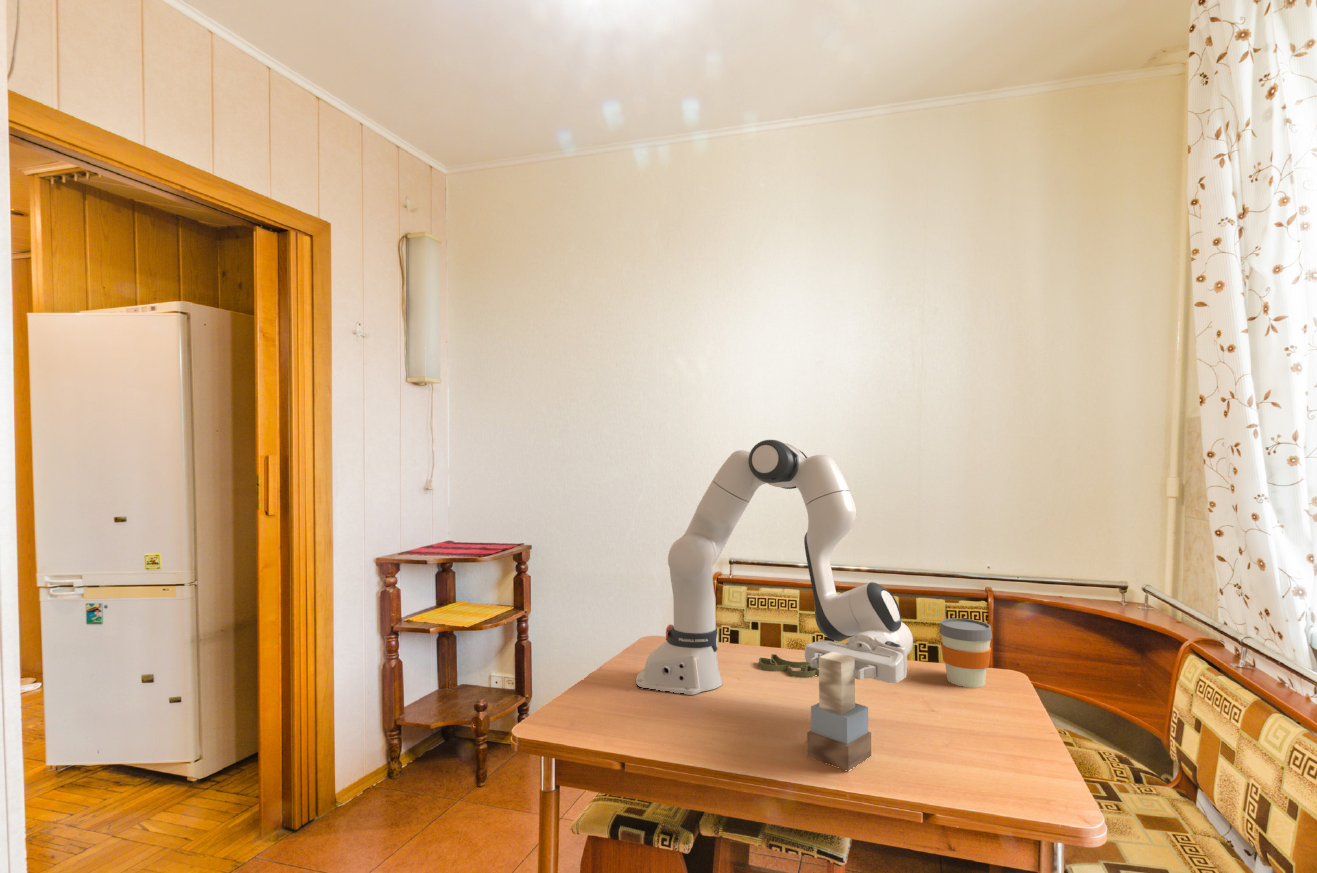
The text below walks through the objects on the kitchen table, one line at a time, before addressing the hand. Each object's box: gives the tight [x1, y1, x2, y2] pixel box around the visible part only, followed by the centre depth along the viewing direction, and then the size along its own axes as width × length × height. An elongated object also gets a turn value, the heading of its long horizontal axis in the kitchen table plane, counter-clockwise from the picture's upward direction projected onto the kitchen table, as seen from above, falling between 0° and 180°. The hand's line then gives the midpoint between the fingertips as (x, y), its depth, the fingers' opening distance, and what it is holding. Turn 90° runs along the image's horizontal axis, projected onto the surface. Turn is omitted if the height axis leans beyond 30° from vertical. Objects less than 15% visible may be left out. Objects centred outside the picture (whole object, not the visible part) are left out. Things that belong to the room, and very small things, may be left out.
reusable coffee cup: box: [939, 617, 993, 689], centre depth 176 cm, size 13×12×15 cm
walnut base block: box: [806, 730, 872, 772], centre depth 134 cm, size 9×9×5 cm
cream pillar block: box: [818, 652, 856, 714], centre depth 134 cm, size 5×5×10 cm
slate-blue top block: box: [810, 702, 869, 744], centre depth 134 cm, size 8×8×5 cm
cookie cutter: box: [758, 653, 819, 679], centre depth 187 cm, size 18×12×2 cm, turn 64°
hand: (834, 669), depth 133 cm, fingers open, 8 cm apart
